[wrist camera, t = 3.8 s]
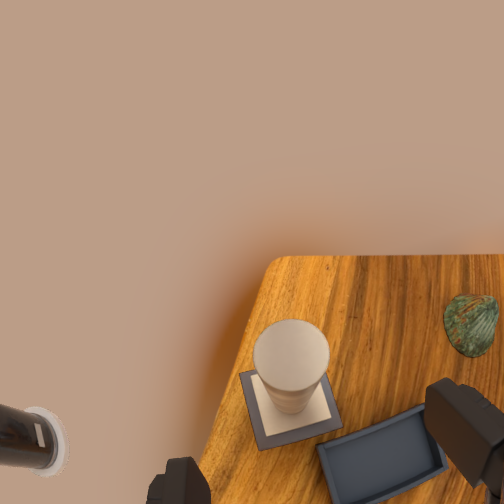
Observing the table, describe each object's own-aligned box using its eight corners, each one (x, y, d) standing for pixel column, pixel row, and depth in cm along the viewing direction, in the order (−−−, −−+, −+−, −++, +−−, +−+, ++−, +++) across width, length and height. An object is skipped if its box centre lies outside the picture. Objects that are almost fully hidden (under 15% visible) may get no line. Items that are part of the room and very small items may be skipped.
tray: (334, 512, 27) (338, 518, 24) (314, 444, 32) (317, 445, 30) (438, 467, 28) (449, 468, 25) (419, 404, 33) (428, 400, 30)
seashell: (445, 301, 36) (487, 271, 37) (432, 312, 39) (474, 282, 41) (478, 364, 31) (518, 326, 32) (463, 370, 35) (503, 334, 36)
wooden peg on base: (268, 436, 22) (238, 439, 9) (254, 382, 25) (208, 309, 11) (326, 419, 22) (380, 396, 9) (310, 366, 25) (334, 274, 12)
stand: (269, 445, 33) (258, 451, 21) (255, 393, 37) (238, 373, 25) (325, 429, 33) (343, 427, 22) (309, 378, 37) (319, 350, 26)
